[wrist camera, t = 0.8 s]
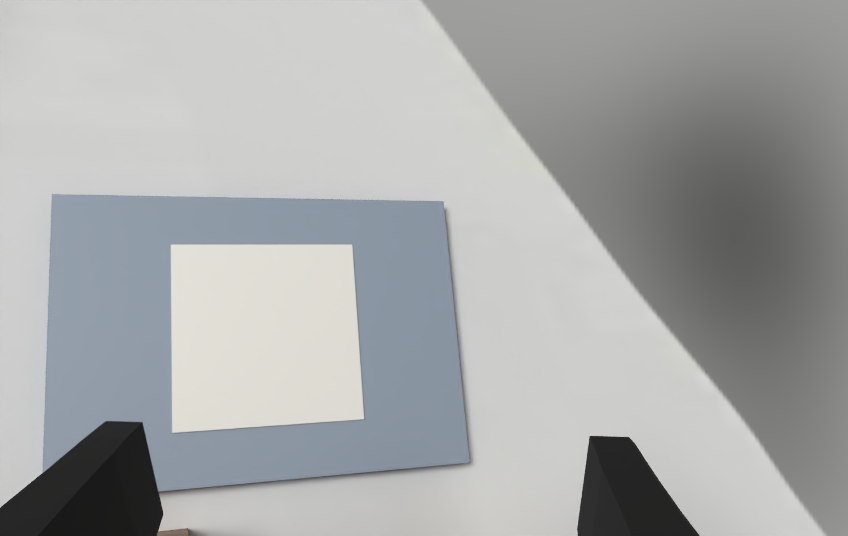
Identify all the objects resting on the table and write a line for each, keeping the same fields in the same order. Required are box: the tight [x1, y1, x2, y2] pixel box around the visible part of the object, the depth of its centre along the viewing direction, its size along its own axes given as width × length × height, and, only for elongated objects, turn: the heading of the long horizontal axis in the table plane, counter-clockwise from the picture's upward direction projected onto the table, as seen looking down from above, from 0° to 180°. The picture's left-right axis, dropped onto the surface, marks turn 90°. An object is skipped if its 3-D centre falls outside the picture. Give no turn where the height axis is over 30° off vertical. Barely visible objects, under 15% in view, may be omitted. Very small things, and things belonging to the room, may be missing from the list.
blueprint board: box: [43, 194, 470, 492], centre depth 27 cm, size 10×14×1 cm
